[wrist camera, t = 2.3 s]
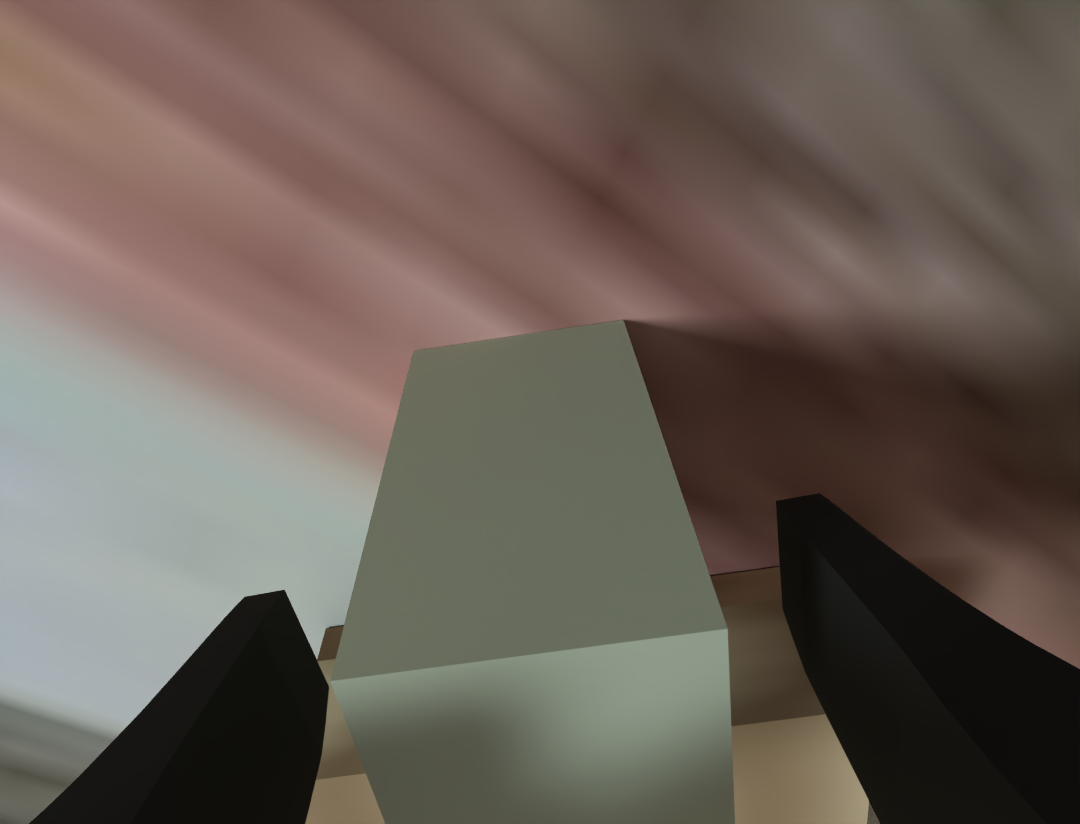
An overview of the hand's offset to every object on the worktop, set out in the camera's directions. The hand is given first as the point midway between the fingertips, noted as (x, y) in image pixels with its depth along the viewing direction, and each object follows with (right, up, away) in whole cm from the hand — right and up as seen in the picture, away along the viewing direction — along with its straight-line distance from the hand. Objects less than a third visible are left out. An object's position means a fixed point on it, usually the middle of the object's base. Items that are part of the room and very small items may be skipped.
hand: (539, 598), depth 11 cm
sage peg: (0, +2, +4) cm, 5 cm away
